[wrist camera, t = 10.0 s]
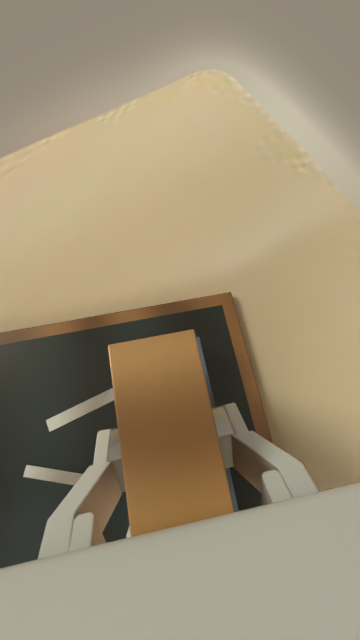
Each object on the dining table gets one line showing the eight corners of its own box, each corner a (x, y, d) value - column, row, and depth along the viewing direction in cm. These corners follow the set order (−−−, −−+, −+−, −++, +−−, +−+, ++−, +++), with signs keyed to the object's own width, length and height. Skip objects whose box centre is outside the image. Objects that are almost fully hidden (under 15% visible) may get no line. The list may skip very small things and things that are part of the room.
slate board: (-97, 676, 14) (-108, 686, 13) (-73, 348, 18) (-80, 346, 18) (305, 568, 15) (309, 573, 15) (229, 294, 20) (230, 291, 20)
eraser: (237, 526, 15) (317, 662, 7) (143, 549, 15) (101, 724, 6) (196, 344, 18) (216, 281, 10) (118, 359, 18) (68, 306, 9)
